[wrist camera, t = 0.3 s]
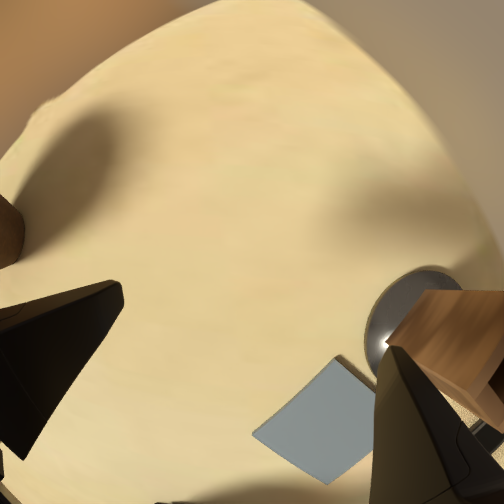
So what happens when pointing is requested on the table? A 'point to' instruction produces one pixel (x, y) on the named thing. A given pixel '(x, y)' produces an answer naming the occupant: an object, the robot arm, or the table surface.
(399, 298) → the peg stand
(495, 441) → the phone
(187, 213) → the table surface
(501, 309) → the walnut sleeve
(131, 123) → the table surface
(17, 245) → the plant pot
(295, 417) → the pad
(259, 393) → the table surface
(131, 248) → the table surface
